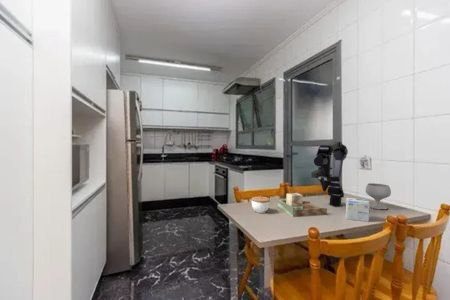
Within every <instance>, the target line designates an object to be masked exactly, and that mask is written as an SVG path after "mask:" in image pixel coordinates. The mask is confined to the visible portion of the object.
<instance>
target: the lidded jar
mask: <svg viewBox="0 0 450 300" xmlns="http://www.w3.org/2000/svg"><path fill="white" fill-rule="evenodd" d="M270 203H271V198H269V197H266V196H262V195H259V196H253V197H251V206H252V209H253V210H254V212H255V213H258V214H265V213H266V212H267V211H268V210H269V209H270Z"/></svg>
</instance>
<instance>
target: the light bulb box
mask: <svg viewBox="0 0 450 300" xmlns="http://www.w3.org/2000/svg"><path fill="white" fill-rule="evenodd" d="M369 204H370V201H369V200H368V199H366V198H365V199H364V198H352V197H345V218H346V220H351V221H359V222H367V223H368V222H369V221H370V207H369Z"/></svg>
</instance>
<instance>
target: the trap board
mask: <svg viewBox="0 0 450 300" xmlns="http://www.w3.org/2000/svg"><path fill="white" fill-rule="evenodd" d="M277 209H279V210H280V211H282V212H283V213H286V214H287V215H289V216H291V217H310V216H323V215H327V214H328V208H327V207H320V206H317V205H315V204H313V203H311V201H310V200H305V201H303V200H302V207H293V206H291V205H289V204H287V203H286V199H278V200H277Z"/></svg>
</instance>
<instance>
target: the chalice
mask: <svg viewBox="0 0 450 300" xmlns="http://www.w3.org/2000/svg"><path fill="white" fill-rule="evenodd" d="M365 193H366V195H368V196H369V197H371V198H373V199H374V200H375V203H373V204H372V203H371V204H370V203H369V209H373V208H374V210H380V209H387V208H388V207H387V206H385V205H381V204H380V202H381V201H382V200H383V199H387V198H389V197H391V195H392V190H391V187H390V185H388V184H385V183H374V182H373V183H371V182H370V183H367V184H366V186H365ZM387 210H388V209H387Z"/></svg>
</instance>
